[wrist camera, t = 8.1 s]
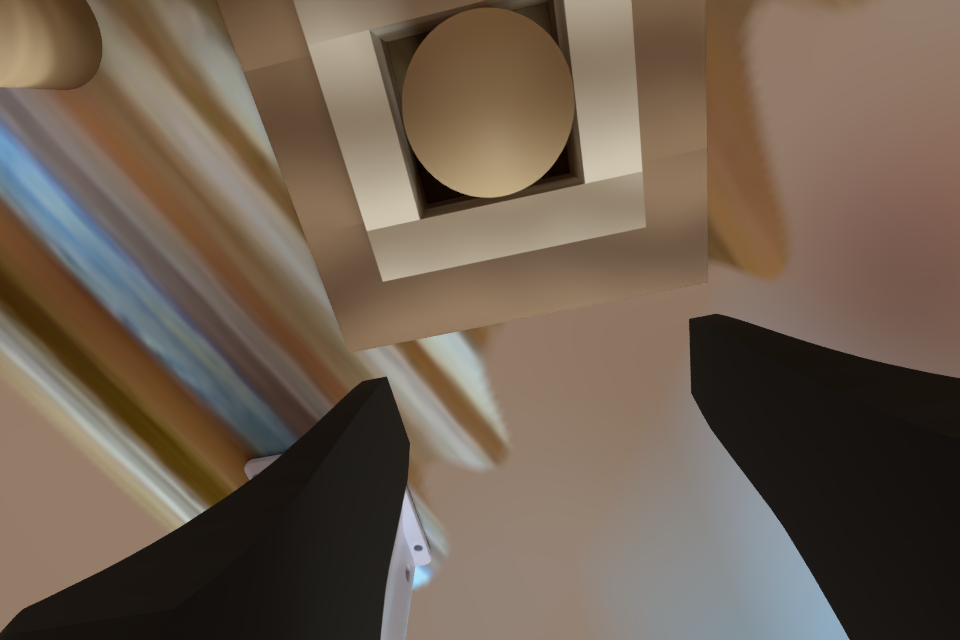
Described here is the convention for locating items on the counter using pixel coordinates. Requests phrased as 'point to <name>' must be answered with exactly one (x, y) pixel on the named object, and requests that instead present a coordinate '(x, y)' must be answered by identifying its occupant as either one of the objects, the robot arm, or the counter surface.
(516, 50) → the long oak dowel
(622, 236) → the collar board
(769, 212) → the counter surface
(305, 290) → the counter surface
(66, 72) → the short oak dowel
